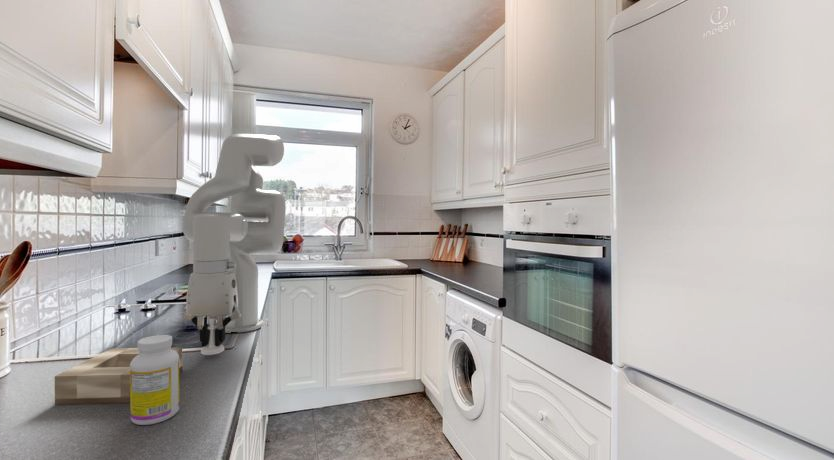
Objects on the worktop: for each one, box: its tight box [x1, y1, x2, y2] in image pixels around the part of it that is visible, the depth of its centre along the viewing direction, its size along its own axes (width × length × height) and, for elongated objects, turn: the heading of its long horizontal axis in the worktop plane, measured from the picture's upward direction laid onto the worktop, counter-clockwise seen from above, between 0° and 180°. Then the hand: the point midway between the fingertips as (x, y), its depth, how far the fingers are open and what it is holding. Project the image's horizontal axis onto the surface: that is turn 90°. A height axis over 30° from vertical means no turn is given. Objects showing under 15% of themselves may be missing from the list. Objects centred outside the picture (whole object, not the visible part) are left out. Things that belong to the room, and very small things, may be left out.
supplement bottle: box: [129, 334, 180, 426], centre depth 62 cm, size 7×7×13 cm
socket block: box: [54, 346, 183, 406], centre depth 73 cm, size 14×14×5 cm
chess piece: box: [200, 316, 225, 356], centre depth 88 cm, size 5×5×10 cm
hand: (212, 343), depth 88 cm, fingers closed on chess piece
